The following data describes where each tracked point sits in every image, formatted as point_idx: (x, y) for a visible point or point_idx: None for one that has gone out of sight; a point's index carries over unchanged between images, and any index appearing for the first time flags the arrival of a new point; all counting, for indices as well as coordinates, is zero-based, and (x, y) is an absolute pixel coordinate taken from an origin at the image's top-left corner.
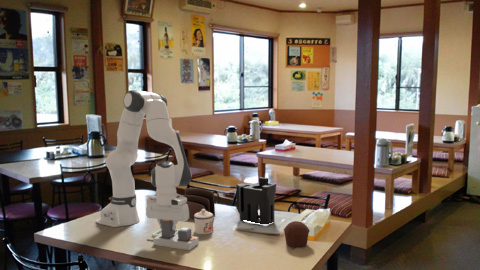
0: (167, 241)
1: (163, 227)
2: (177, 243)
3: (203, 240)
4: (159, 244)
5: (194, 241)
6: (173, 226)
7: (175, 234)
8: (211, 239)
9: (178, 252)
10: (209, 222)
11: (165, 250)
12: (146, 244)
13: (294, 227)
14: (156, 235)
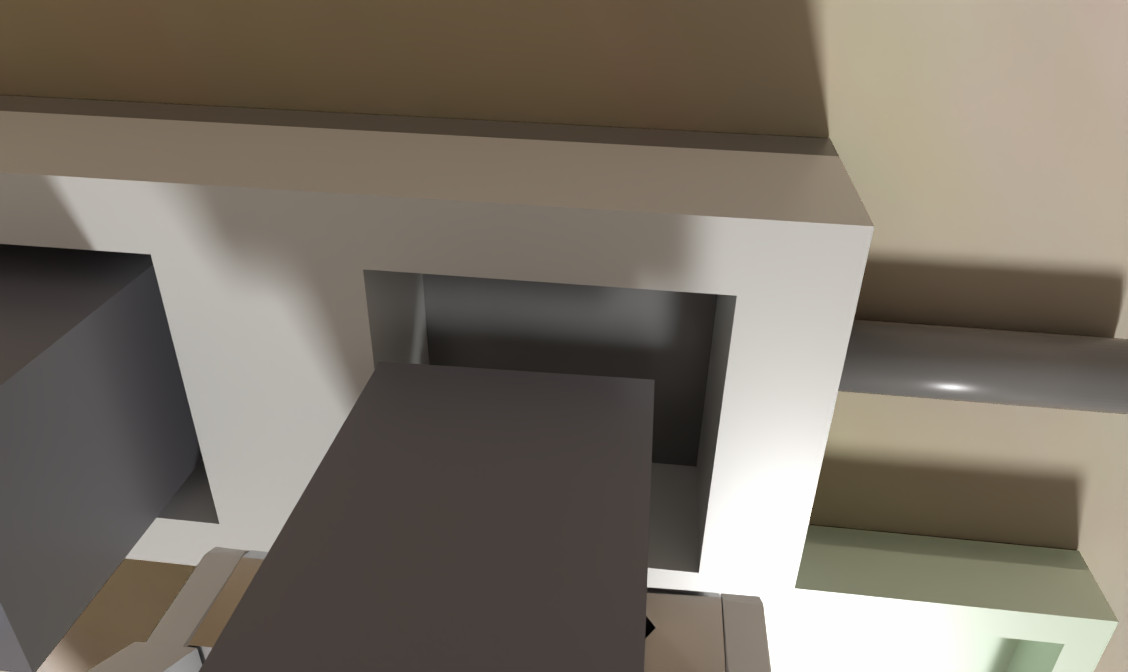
0: (377, 182)
1: (545, 572)
2: (75, 156)
3: (132, 612)
4: (657, 157)
5: None
6: (154, 643)
7: None
8: (62, 656)
9: (98, 16)
10: None
11: (442, 31)
12: (1091, 239)
13: None
14: (982, 596)
